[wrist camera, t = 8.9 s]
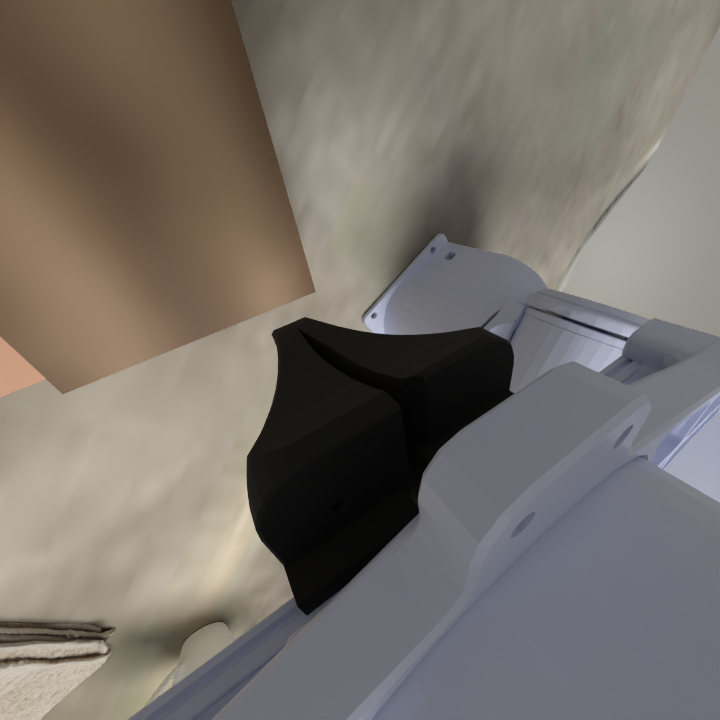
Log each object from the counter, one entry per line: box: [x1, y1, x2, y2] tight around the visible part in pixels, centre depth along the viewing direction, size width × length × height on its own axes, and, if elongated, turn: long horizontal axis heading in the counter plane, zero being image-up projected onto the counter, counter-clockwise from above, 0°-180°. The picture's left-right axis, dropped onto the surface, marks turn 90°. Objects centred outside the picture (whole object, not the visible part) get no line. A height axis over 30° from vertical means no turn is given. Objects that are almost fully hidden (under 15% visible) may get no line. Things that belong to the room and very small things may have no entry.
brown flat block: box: [0, 0, 315, 394], centre depth 12 cm, size 12×12×4 cm
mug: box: [144, 622, 235, 707], centre depth 28 cm, size 12×8×11 cm
